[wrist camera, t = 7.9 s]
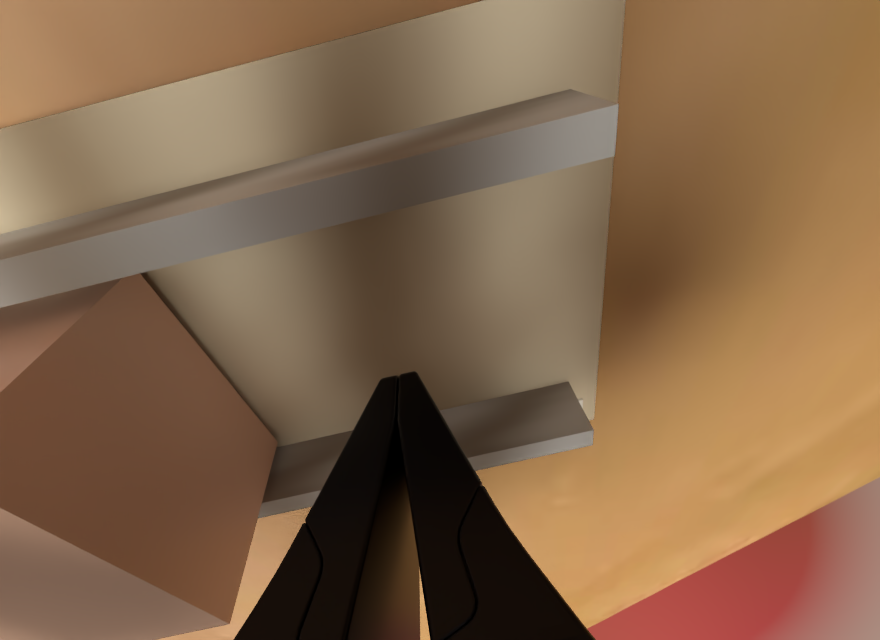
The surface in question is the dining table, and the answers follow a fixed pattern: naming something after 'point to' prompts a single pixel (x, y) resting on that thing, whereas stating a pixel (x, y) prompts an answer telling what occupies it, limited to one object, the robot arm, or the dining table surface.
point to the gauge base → (356, 224)
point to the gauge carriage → (120, 471)
